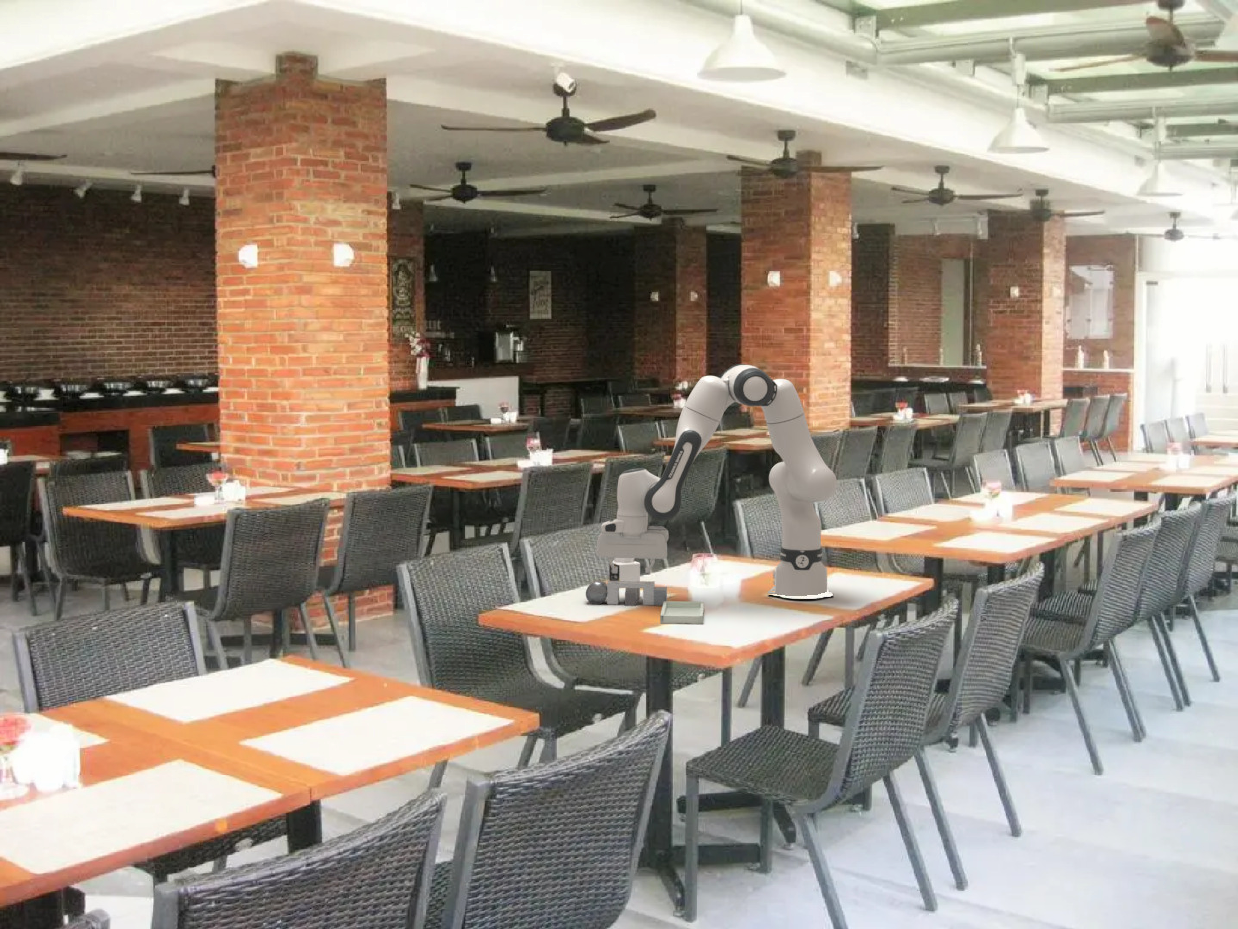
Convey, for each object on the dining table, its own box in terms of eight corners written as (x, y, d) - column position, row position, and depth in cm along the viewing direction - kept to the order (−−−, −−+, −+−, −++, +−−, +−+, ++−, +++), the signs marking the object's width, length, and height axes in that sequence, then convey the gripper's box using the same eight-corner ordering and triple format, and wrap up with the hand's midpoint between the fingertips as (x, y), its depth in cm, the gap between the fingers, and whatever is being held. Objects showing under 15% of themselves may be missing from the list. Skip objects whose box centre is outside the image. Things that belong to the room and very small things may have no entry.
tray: (663, 608, 366) (663, 601, 366) (703, 609, 365) (703, 601, 365) (660, 623, 346) (660, 615, 346) (702, 624, 345) (702, 616, 345)
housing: (587, 601, 376) (587, 580, 376) (667, 602, 374) (667, 581, 374) (585, 604, 371) (585, 583, 371) (666, 605, 370) (666, 584, 369)
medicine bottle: (608, 584, 404) (609, 544, 403) (630, 582, 407) (630, 543, 406) (618, 587, 397) (618, 548, 396) (640, 586, 400) (640, 546, 399)
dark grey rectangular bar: (626, 596, 384) (626, 582, 383) (640, 596, 383) (640, 583, 383) (623, 605, 370) (623, 591, 370) (637, 606, 370) (637, 591, 369)
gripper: (669, 525, 379) (668, 573, 380) (597, 523, 380) (597, 571, 382) (668, 527, 373) (667, 576, 374) (595, 525, 374) (595, 574, 375)
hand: (631, 573), depth 378 cm, fingers open, 8 cm apart
